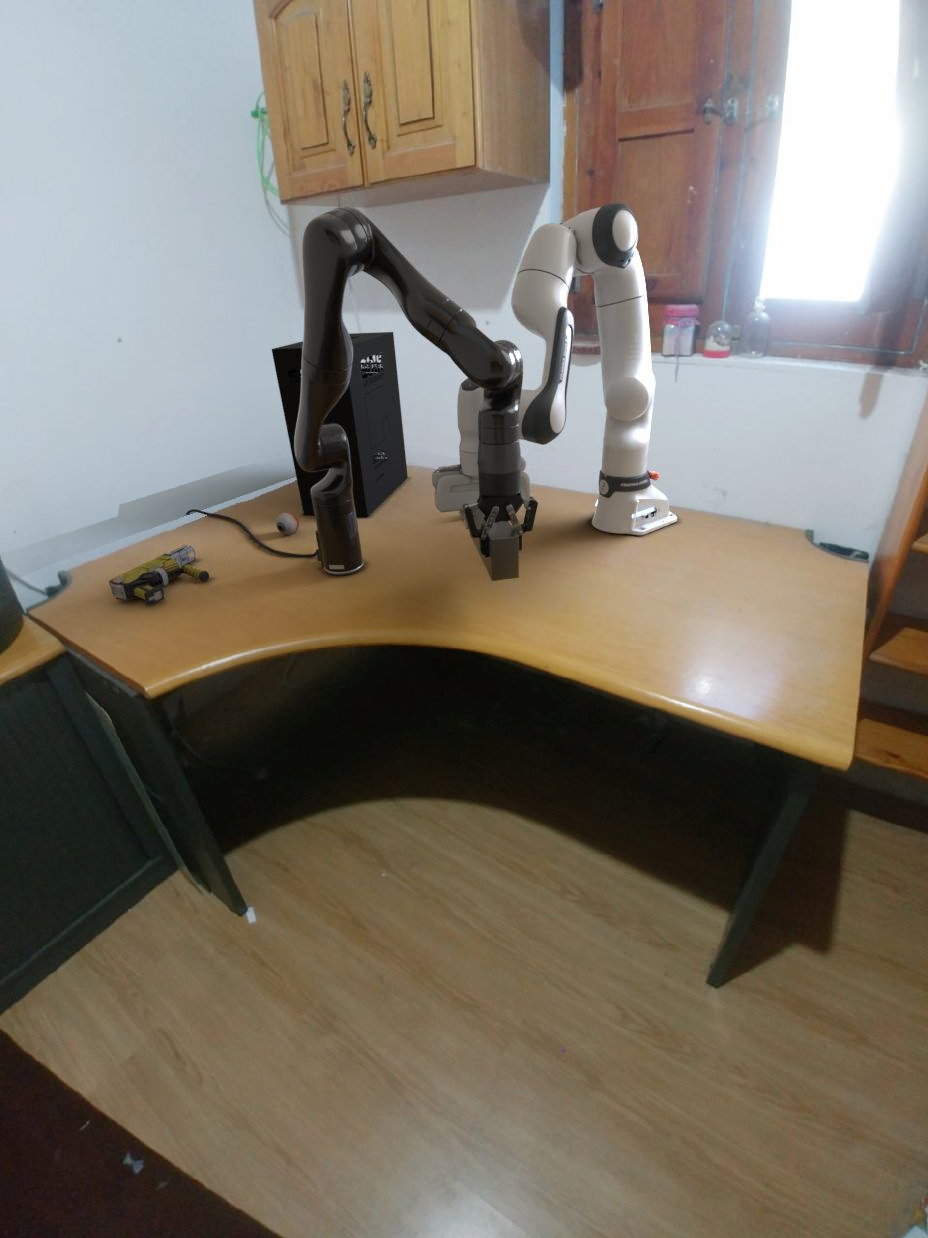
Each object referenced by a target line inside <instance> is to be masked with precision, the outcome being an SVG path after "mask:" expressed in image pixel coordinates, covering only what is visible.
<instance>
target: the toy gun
mask: <svg viewBox="0 0 928 1238" xmlns="http://www.w3.org/2000/svg"><path fill="white" fill-rule="evenodd" d="M191 553H193V556H190V554H191ZM196 560H197V556H196V551H195V547H194V546H192V545H189V546H188V545H187V544H184V545H182V546H180V547H177V548H176V549H174V550H171V551H170V552H168V553H163V554H161V555H159V556H157V557H155V558H153V559H151V560H149V561H147V562H145V563H142V564H139V565H138V566H136V567H133V568H132V569H129V570H128V571H125V572H123V573H121V574H119V575H117V576H115V577H113V578H111V579H110V580H108V583H109V587H110V591H111V594H112V597H113V598H115V600H117V601H118V600H119V601H120V602H121V601H122V602H123V601H125V600H126V601H131V600H135V599H143V600H144V601H145V605H146V607H150V606H153V605H155V604H157V603H159V602H162V601H164V600H165V596H164V591H163V590H164V589H163V588H164V587H166V586H168V585H169V581H171V580H173V579H175V578H178V577H181V575H182V574H184V575H185V576H189V577H191V578H194V579H196V580H199V581H200V582H202V583H205V582H207V581H209V580H210V573H209V572H208V571H207V570H202V569H200V568H198V567H195V566H192V565H191V564H190V563H192V562H193V561H196Z"/></svg>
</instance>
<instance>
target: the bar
mask: <svg viewBox="0 0 928 1238" xmlns="http://www.w3.org/2000/svg"><path fill="white" fill-rule="evenodd" d="M483 516H484V514H483V513H482V512H481V510H480V509H477V511H476V515H475V516H474V517H473V518H474V521H475V525H476V529H480V527H481V524H482V519H483ZM469 537H470V538H471V541H472V542H473V545H474V547H475V549H476V551H477V553H478V555H479V557H480V559H481V561H482V563H483V566H484V568H485V569H486V571H487V573H488V576H489V578H490V580H491V582H497V581H504V580H505V581H507V580H513V579H519V578H520V551H519V536H518V535H517V533H516V532H515V530H514V529H513V526H512V524H511V522H510V521H500V522H497V523H494V524H493V526H492V529H491V530H490V532H489V535H488V541H489V557H487V558H485V556H484V555H482V553H481V551H480V539H479V538H477V537H476V538H473V537H472V535H471V533H470V532H469Z"/></svg>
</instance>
